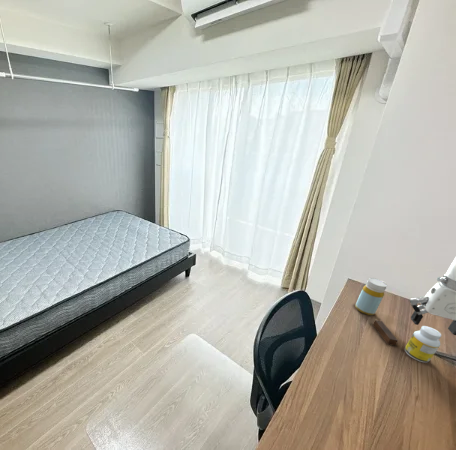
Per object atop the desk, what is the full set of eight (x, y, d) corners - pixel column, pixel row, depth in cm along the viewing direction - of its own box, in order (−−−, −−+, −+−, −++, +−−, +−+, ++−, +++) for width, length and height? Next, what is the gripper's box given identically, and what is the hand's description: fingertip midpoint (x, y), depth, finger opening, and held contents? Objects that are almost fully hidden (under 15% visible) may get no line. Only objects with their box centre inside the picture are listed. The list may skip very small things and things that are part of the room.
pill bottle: (405, 344, 91) (419, 320, 87) (429, 356, 87) (446, 332, 82) (402, 354, 87) (417, 329, 83) (428, 367, 83) (445, 341, 78)
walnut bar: (372, 324, 100) (375, 319, 99) (379, 325, 100) (382, 321, 99) (387, 343, 91) (390, 338, 90) (395, 345, 91) (398, 340, 90)
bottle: (372, 308, 109) (386, 280, 104) (376, 318, 104) (390, 289, 98) (353, 302, 113) (365, 275, 107) (356, 311, 107) (368, 283, 101)
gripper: (430, 283, 75) (405, 325, 82) (509, 301, 69) (475, 345, 76) (417, 271, 82) (395, 311, 88) (489, 286, 76) (459, 328, 82)
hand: (432, 327), depth 82 cm, fingers open, 9 cm apart
